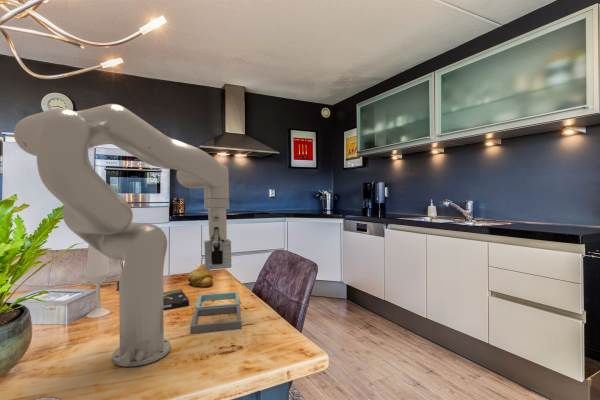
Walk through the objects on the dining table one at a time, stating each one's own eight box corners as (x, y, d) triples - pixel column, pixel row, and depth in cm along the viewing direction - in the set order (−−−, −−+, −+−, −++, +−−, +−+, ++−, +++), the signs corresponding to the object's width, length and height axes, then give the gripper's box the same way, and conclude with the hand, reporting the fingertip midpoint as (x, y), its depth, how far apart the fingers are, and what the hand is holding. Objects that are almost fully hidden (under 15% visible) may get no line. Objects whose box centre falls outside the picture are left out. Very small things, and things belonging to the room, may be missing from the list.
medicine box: (229, 265, 101) (229, 238, 101) (231, 268, 97) (231, 240, 97) (204, 267, 99) (204, 240, 99) (205, 270, 95) (204, 242, 94)
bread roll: (217, 286, 133) (217, 267, 133) (194, 290, 127) (193, 270, 127) (207, 280, 143) (207, 262, 143) (185, 283, 138) (185, 265, 138)
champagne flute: (107, 316, 100) (106, 241, 99) (82, 318, 98) (81, 242, 97) (112, 309, 106) (112, 238, 106) (89, 311, 104) (89, 239, 104)
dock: (241, 328, 90) (241, 321, 90) (190, 333, 87) (190, 326, 86) (237, 297, 118) (237, 291, 118) (199, 300, 115) (199, 294, 115)
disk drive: (189, 307, 109) (181, 295, 121) (189, 299, 109) (181, 288, 121) (157, 313, 103) (152, 300, 116) (157, 305, 103) (152, 293, 116)
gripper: (228, 205, 90) (229, 267, 90) (229, 203, 107) (230, 256, 107) (201, 205, 88) (202, 269, 89) (206, 203, 105) (207, 257, 106)
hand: (217, 261), depth 98 cm, fingers closed on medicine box, 4 cm apart
